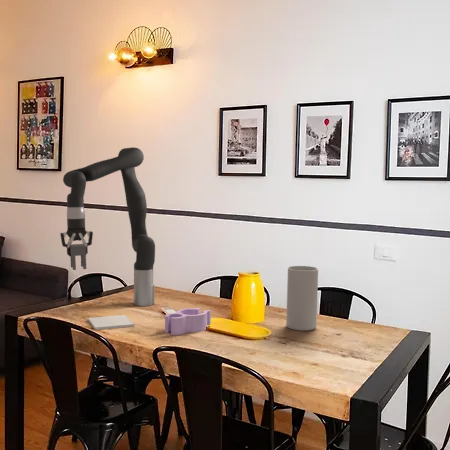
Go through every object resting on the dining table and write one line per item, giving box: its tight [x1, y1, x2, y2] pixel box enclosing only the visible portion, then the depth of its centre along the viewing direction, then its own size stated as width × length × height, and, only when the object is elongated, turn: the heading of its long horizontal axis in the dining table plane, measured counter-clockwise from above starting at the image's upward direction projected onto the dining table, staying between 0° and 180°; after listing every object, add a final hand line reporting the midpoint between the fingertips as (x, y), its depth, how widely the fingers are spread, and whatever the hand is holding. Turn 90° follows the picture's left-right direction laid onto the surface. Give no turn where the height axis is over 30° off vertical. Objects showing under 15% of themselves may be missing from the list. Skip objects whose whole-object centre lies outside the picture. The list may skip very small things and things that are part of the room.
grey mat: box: [87, 314, 135, 331], centre depth 239 cm, size 16×16×1 cm
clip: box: [164, 307, 212, 336], centre depth 232 cm, size 20×12×7 cm, turn 136°
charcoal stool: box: [69, 243, 87, 271], centre depth 246 cm, size 6×10×8 cm
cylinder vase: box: [285, 265, 319, 332], centre depth 236 cm, size 12×12×25 cm
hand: (77, 255), depth 248 cm, fingers closed on charcoal stool, 6 cm apart
